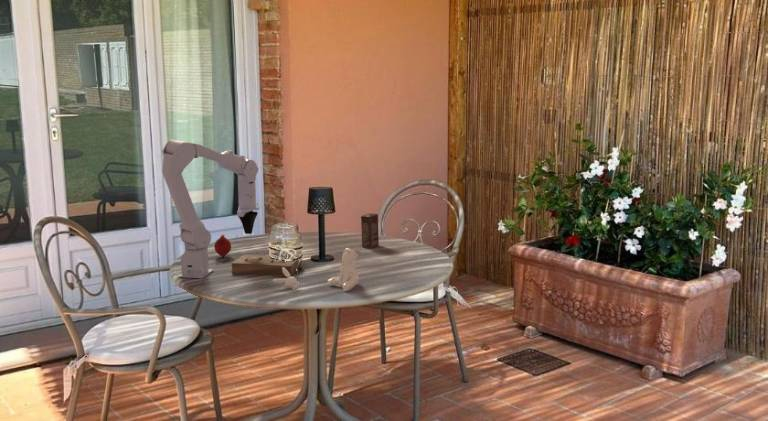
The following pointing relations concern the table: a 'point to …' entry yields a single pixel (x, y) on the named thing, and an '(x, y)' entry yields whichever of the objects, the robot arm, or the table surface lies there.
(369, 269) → the table surface
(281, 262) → the peg
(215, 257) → the table surface
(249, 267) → the walnut block
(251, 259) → the peg
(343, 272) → the white creature statuette
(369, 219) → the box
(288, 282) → the rabbit figurine
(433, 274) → the table surface
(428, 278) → the table surface
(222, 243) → the onion
